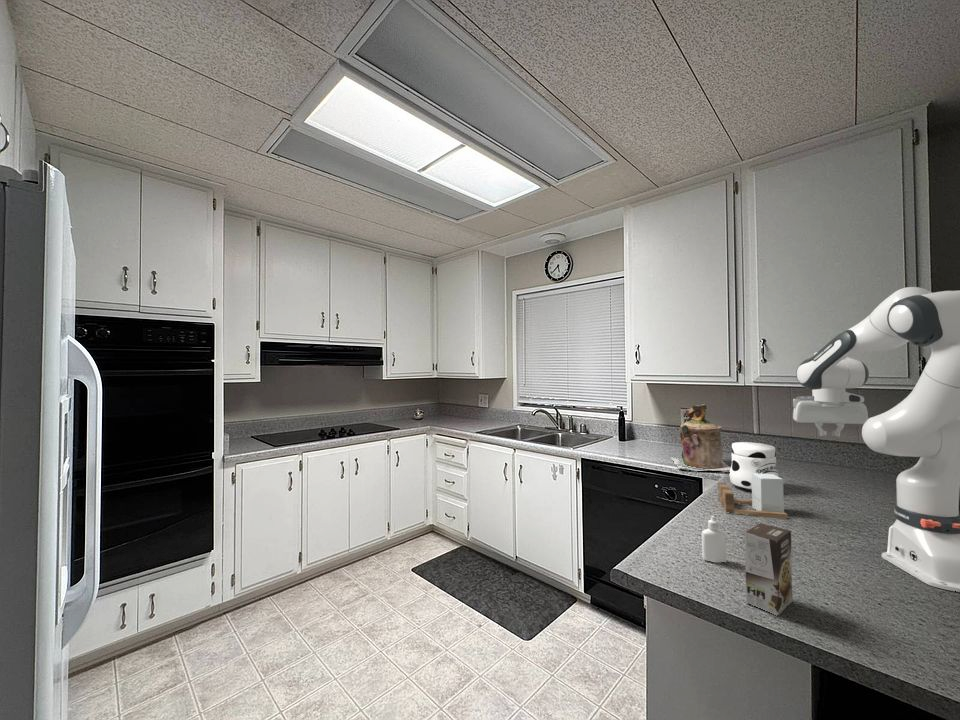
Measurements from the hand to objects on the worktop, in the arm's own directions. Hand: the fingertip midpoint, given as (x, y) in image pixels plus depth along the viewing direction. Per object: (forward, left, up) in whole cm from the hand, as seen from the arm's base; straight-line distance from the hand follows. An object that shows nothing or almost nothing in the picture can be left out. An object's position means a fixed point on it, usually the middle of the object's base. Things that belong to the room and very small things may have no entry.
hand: (829, 436), depth 142 cm
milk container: (+25, +17, -27) cm, 41 cm away
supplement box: (-3, +20, -27) cm, 34 cm away
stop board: (-3, +33, -27) cm, 42 cm away
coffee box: (-67, +36, -27) cm, 81 cm away
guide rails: (-3, +25, -27) cm, 37 cm away
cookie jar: (+58, +32, -27) cm, 72 cm away
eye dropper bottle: (-49, +44, -27) cm, 71 cm away
